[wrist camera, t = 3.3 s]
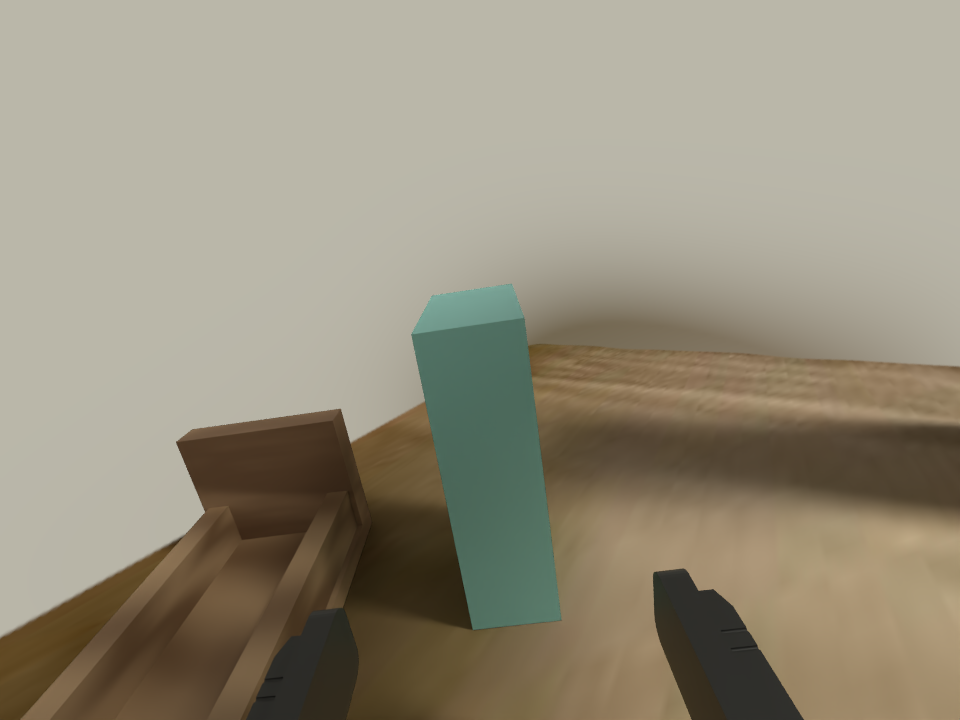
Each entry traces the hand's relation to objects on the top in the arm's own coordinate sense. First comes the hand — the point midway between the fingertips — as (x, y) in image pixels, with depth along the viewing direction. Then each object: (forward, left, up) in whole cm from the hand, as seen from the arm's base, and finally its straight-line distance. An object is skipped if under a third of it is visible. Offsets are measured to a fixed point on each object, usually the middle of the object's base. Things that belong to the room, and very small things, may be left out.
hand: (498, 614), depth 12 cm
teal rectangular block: (-8, -6, -8) cm, 13 cm away
